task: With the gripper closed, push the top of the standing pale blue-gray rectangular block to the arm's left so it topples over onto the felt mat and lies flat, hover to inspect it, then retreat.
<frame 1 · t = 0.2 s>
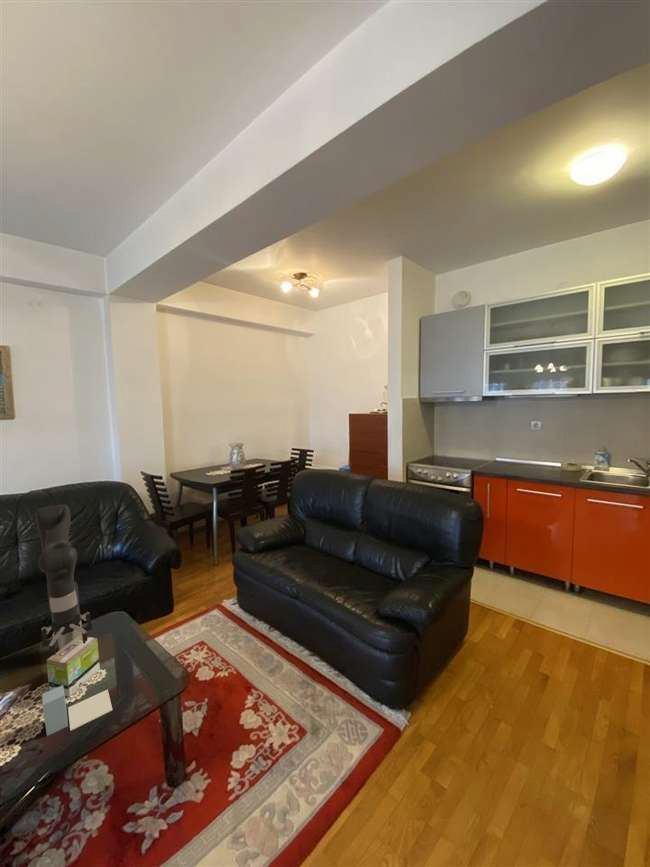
hand: (69, 648, 128), 29 cm above the table, fingers open, 8 cm apart
pale blue-gray rectangular block: (57, 725, 130), on the table
tea box: (76, 681, 150), on the table
felt mat: (90, 709, 136), on the table
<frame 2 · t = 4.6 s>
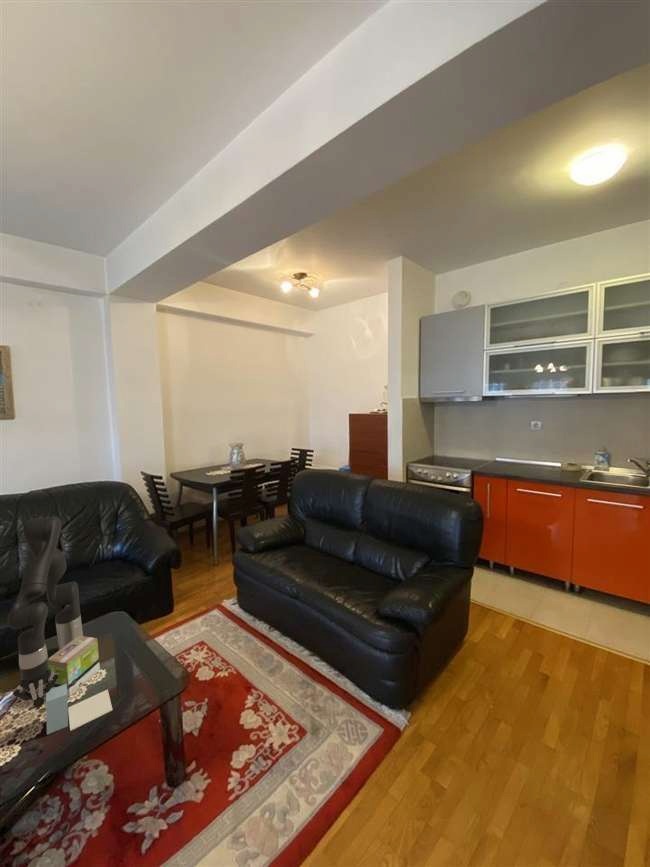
hand: (39, 706, 127), 10 cm above the table, fingers closed
pale blue-gray rectangular block: (57, 724, 130), on the table, touching gripper
everything else where it was.
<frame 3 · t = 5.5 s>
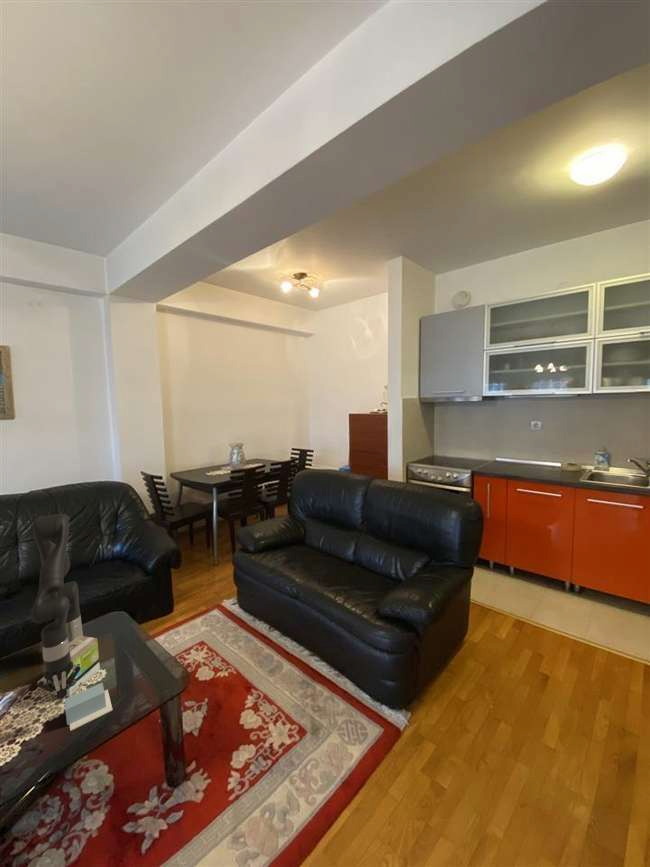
hand: (62, 697, 131), 9 cm above the table, fingers closed
pale blue-gray rectangular block: (65, 712, 132), point 3 cm above the table, tilted 90°, touching felt mat
everything else where it was.
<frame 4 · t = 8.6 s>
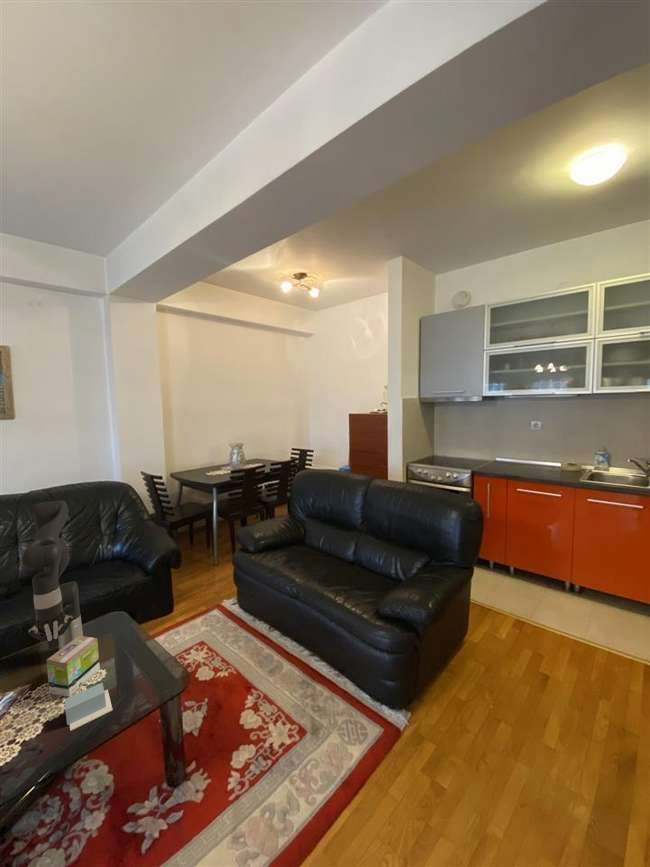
hand: (54, 648, 128), 29 cm above the table, fingers closed
nothing on the table moved.
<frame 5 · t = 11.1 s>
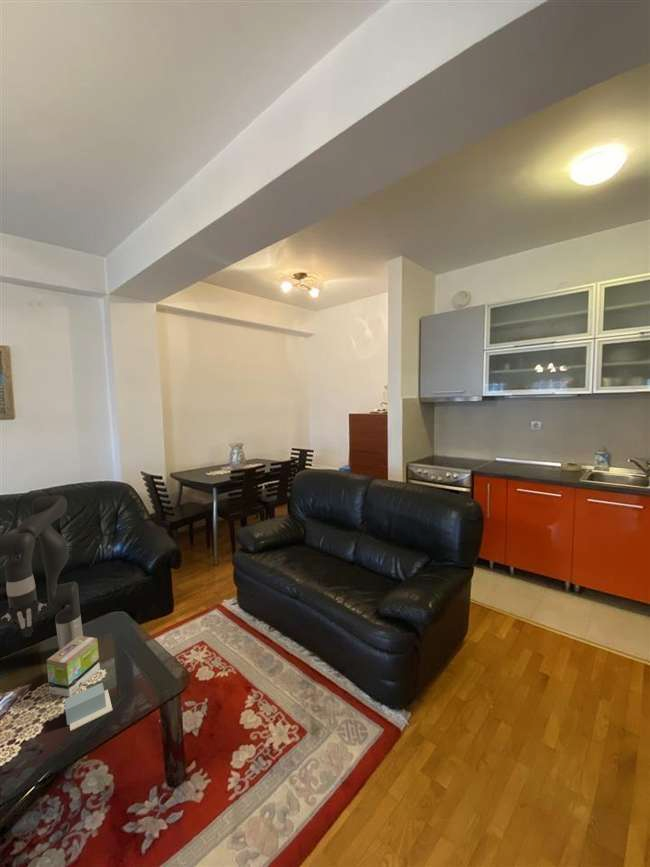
hand: (27, 635, 129), 33 cm above the table, fingers closed
nothing on the table moved.
at the end: pale blue-gray rectangular block tilted 90°; pale blue-gray rectangular block inside the target area (4.7 cm from its centre), point 3.3 cm above the table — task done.
